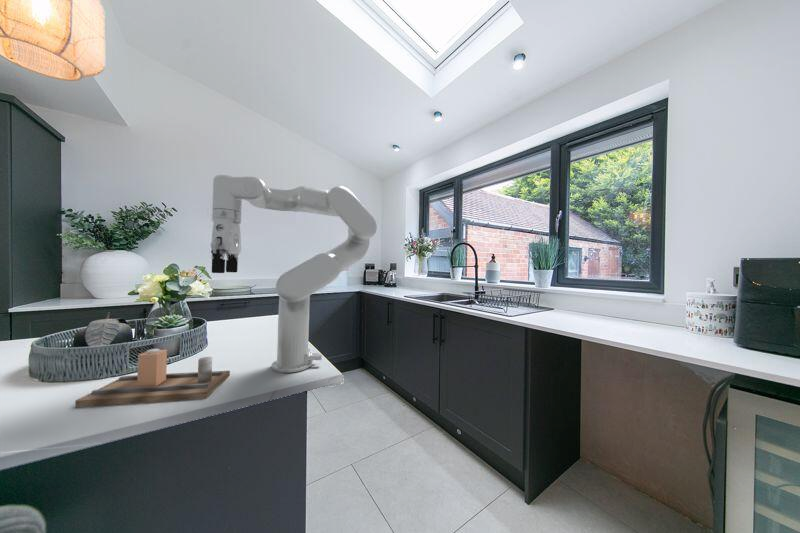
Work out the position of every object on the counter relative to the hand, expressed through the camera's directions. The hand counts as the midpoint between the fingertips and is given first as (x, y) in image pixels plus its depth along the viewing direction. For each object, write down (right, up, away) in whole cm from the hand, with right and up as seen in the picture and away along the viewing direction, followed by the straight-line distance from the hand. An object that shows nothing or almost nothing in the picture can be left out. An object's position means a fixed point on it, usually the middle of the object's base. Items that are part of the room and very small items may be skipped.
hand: (225, 272), depth 83 cm
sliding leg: (-10, -28, -14) cm, 33 cm away
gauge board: (-8, -30, -13) cm, 34 cm away
